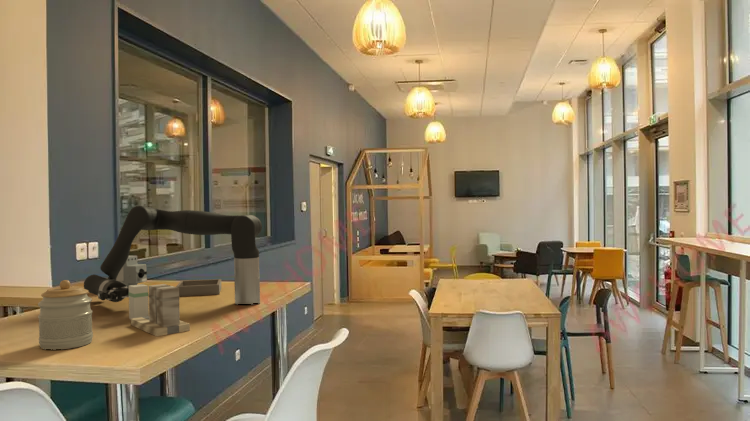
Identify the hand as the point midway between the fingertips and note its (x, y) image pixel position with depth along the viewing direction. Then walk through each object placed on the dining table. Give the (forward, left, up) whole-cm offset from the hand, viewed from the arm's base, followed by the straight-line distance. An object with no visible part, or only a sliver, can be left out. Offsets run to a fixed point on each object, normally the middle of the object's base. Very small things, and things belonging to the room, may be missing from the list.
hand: (128, 295), depth 191 cm
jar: (+8, +39, -7) cm, 40 cm away
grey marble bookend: (-14, +25, -6) cm, 29 cm away
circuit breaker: (+10, -54, -7) cm, 56 cm away
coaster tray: (-20, -41, -6) cm, 46 cm away
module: (-5, +9, -7) cm, 12 cm away
